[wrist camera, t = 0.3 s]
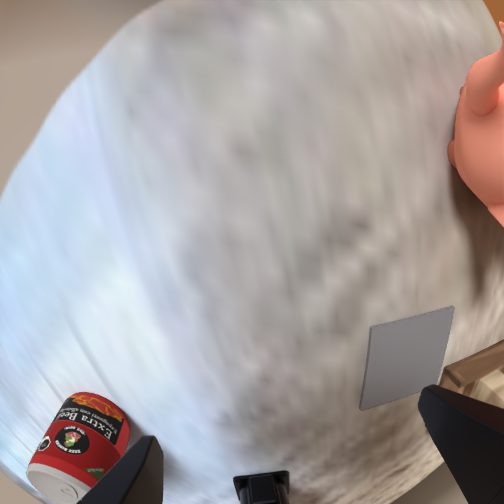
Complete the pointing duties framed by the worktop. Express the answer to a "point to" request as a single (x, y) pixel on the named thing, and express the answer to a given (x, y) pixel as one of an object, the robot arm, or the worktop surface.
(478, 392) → the maple block
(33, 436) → the worktop surface
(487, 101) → the teapot
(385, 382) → the rubber mat
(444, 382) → the box
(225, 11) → the worktop surface
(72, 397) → the canned food
